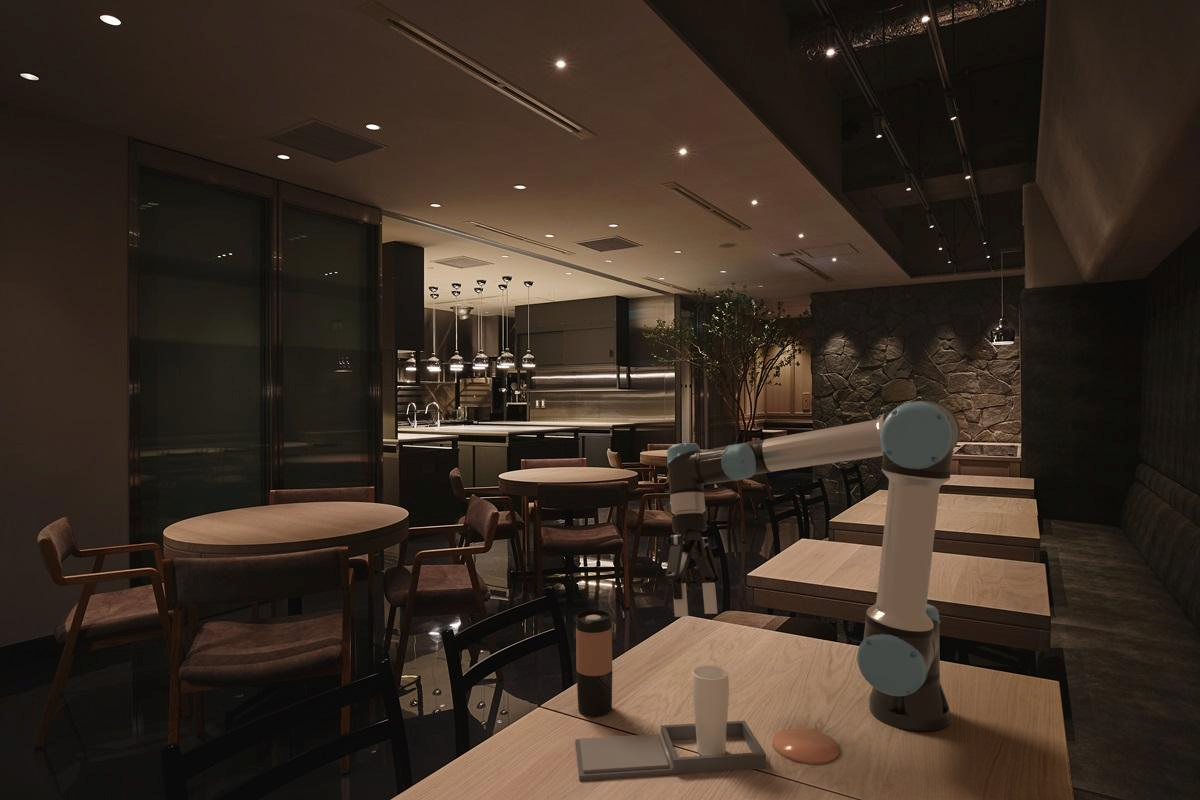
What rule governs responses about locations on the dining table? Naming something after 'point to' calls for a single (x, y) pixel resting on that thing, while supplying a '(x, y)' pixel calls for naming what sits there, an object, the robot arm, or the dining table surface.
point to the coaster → (805, 745)
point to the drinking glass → (710, 708)
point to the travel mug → (594, 662)
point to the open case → (661, 754)
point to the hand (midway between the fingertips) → (696, 615)
